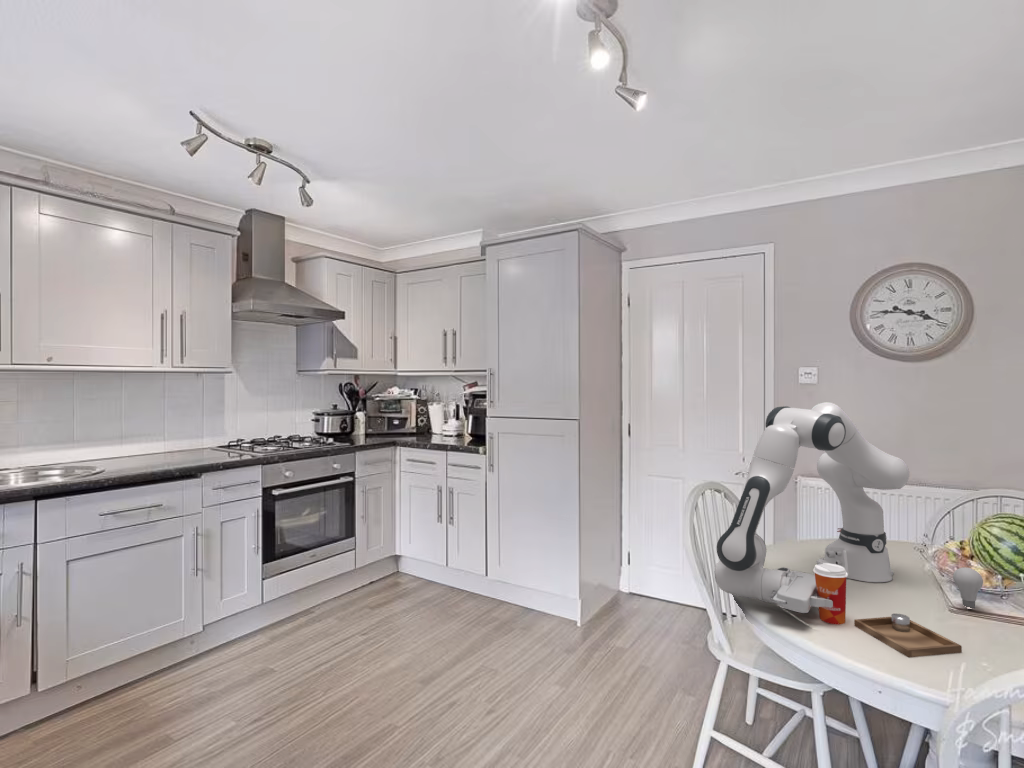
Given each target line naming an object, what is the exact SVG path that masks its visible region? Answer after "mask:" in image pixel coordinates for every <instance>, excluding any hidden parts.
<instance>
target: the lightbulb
mask: <svg viewBox="0 0 1024 768" xmlns="http://www.w3.org/2000/svg"><path fill="white" fill-rule="evenodd" d="M952 575H953V576H952V580H953V582H954V584H955V585H956V587H957V588H958V590H959V593H960V597H961V599H962V601H961V602H962V606H963V605H964V606H966V607H970V608H974V609H975V608H976V601H977V597H978V593H979V591H980V590H981V589H982V588H983V585H984V580H983V579H984V578H983V577H982V575H981V574H980V573H979V572H978V571H977V570H975V569H973V568H972V567H971V568H970V567H966V566H965V567H963V566H962V567H959V568H957V569H956V570H954V572H953V574H952ZM964 606H963V607H964ZM966 607H965V608H966Z"/></svg>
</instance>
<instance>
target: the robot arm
mask: <svg viewBox="0 0 1024 768" xmlns="http://www.w3.org/2000/svg"><path fill="white" fill-rule="evenodd" d="M800 447H804V448H808V449H817V450H819V451H822V452H823V451H824V452H823V453H822V454H821V455H820V456H819V458H818V460H817V462H816V470H817V473H818V475H819V477H820V478H821V479H822V480H823V481H825V482H826V483H827V484H828V486H830V487H831V488H832V490H833V491H834V493H835V495H836V497H837V499H838V501H839V504H840V510H841V517H842V518H841V520H842V527H841V528H837V531H836V532H838V533H839V536H838V538H837V539H836V540H834V541H833V542H831V543H829V544H828V545H826V547H825V550H824V557H821V558H820V557H819V558H818V559H816V563H817V564H822V563H830V564H836V565H839V566H842V567H844V568H845V570H846V572H847V574H848V576H847V577H846V579H850V580H856V581H860V582H868V583H887V582H890V581H892V580H893V578H894V577H893V575H894V573H895V572H894V570H893V569H891V562H890V556H889V555H890V554H889V549H888V547H886V545H887V540H888V539H887V538H888V537H887V533H886V532H885V521H884V519H885V518H884V510H883V507H882V506H881V504H880V503H879V502H878V501H876V500H875V499H872V498H871V497H869V495H867V492H866V491H865V490H864V488H866V489H872V490H881V491H886V490H887V491H889V490H901V489H902V488H904V487H905V486H906V484H908V482H909V479H910V470H909V466H908V465H907V463H906V462H905V461H904V460H903V458H900V457H897V456H895V455H892V454H889V453H888V452H886V451H883V450H882V449H880V448H879V447H877V446H876V445H874V444H872V443H871V442H869V441H868V440H867V439H866V438H865V437H864V436H863V434H862V433H861V432H860V431H859V429H858V428H857V425H856V424H855V423H854V421H853V420H852V419H851V417H850V416H849V415H848V414H847V413H846V412H845V411H844V410H843V408H841V407H840V406H839V405H837V404H836V403H834V402H830V401H829V402H828V401H827V402H826V401H825V402H819V403H817V404H815V405H814V406H813V407H812V408H811V409H809V408H799V407H790V406H787V405H786V406H784V405H783V406H777V407H774V408H773V409H772V410H771V411H770V412H768V415H767V416H766V418H765V429H764V430H763V432H762V434H761V435H760V437H759V440H758V442H757V445H756V446H755V450H754V452H753V455H752V458H751V462H750V465H749V468H748V474H747V478H746V482H745V485H744V488H743V492H742V494H741V497H740V500H739V502H738V503H737V504H738V505H737V507H736V510H735V513H734V516H733V519H732V520H731V524H730V526H729V527H728V528H727V530H726V531H725V532H724V533H723V534H722V535H721V536H720V537H719V538H718V540H717V543H716V554H717V557H718V559H719V561H718V562H717V563H716V564H715V566H714V579H715V582H716V584H717V587H719V589H720V590H722V591H723V592H725V593H727V594H730V595H734V596H738V597H741V598H744V599H745V598H746V599H757V600H759V601H761V602H764V603H769V604H774V605H777V606H778V607H781V608H782V609H786V610H789V611H792V612H798V613H801V614H807V613H809V611H810V610H811V609H812V607H814V608H818V607H824V606H825V607H830V608H832V607H833V600H832V599H829V598H825V599H824V598H817V590H816V581H815V574H813V573H807V572H802V571H797V570H791V568H790V567H784V566H783V567H779V568H775V569H774V568H773V569H772V568H771V569H770V568H767V567H765V562H766V557H767V556H766V555H767V545H766V543H765V541H764V539H763V538H762V537H761V536H760V535H758V533H757V530H758V527H759V524H760V521H761V519H762V516H763V513H764V510H765V509H766V507H767V505H768V504H769V503H770V502H771V501H772V500H773V499H774V498H776V497H777V496H779V495H780V494H782V493H783V492H785V490H786V488H787V486H789V483H790V481H791V479H792V478H793V474H794V470H795V468H796V464H797V459H798V454H799V448H800Z"/></svg>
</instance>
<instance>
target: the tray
mask: <svg viewBox="0 0 1024 768" xmlns="http://www.w3.org/2000/svg"><path fill="white" fill-rule="evenodd" d="M853 623H854V627H855V628H858V629H860V630H861V631H863V632H864V633H866V634H867V635H870V636H871V637H873V638H874V639H876V640H878V641H880V642H882V643H883V644H885V645H886V646H888V647H890V648H892V649H894V650H895V651H897V652H899V653H900V654H902V655H904V656H905V657H907V658H916V657H917V658H918V657H927V656H928V657H929V656H940V655H949V654H950V655H952V654H962V653H963V652H962V651H963V649H962V648H963V646H962V645H961V644H960V643H957V642H956V641H953V640H951V639H949V638H947V637H945V636H943V635H942V634H940V633H937V632H936V631H933V630H932V629H930V628H927V627H925V626H923V625H921V624H919V623H917V622H916V621H913V620H911V619H910V631H909V632H900V631H897V630H894V629H893V628H892V616H883V617H870V618H858V619H857V618H856V619H854V622H853Z"/></svg>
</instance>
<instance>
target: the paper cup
mask: <svg viewBox="0 0 1024 768" xmlns="http://www.w3.org/2000/svg"><path fill="white" fill-rule="evenodd" d="M812 572H814V575H815V581H816V590H817V598H824V599H825V598H829V599H832V600H833V607H832V608H830V607H825V606H824V607H817V608H818V614H819V619H820V620H821V621H822V622H824V623H827V624H830V625H843V624H845V623H846V615H847V614H846V612H847V611H846V608H847V607H846V606H847V605H846V604H847V578H846V577H847V576H848V574H847V572H846V570H845V568H844V567H842V566H839V565H836V564H830V563H822V564H818V563H817V564H815V565H814V568H813V569H812Z"/></svg>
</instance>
